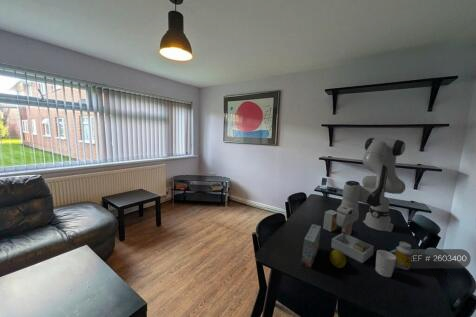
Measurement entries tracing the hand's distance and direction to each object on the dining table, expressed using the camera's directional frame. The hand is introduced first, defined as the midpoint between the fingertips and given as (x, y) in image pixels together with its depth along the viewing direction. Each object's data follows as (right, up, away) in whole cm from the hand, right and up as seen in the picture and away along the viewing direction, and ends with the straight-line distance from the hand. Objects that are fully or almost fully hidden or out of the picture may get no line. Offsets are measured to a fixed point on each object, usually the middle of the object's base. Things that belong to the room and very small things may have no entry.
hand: (346, 229), depth 117 cm
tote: (+2, -12, -1) cm, 13 cm away
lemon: (-13, -14, -14) cm, 24 cm away
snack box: (-25, -13, -8) cm, 29 cm away
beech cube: (+4, -12, -5) cm, 14 cm away
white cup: (+8, -15, -19) cm, 25 cm away
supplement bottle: (+22, -15, -13) cm, 30 cm away
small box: (+2, -9, +25) cm, 27 cm away
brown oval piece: (0, -2, 0) cm, 2 cm away
